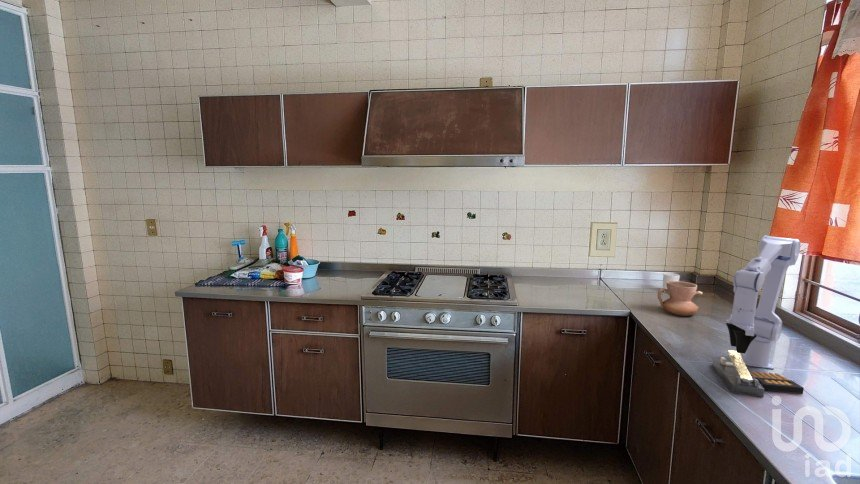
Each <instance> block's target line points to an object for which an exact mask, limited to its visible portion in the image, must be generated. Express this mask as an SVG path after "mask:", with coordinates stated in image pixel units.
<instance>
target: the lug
mask: <svg viewBox="0 0 860 484" xmlns="http://www.w3.org/2000/svg"><path fill="white" fill-rule="evenodd" d="M719 359H720V363H721V364H722V365H726V366H733V367H734V365H733V363H731V362H726V360H727V358H726V357H724V356H720V358H719Z"/></svg>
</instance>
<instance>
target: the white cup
mask: <svg viewBox="0 0 860 484" xmlns="http://www.w3.org/2000/svg"><path fill="white" fill-rule="evenodd" d="M662 275H663V276H662V288H665V289H667V281H680V278H681V275H680V274H678V273H676V272H663V274H662Z"/></svg>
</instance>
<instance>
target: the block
mask: <svg viewBox="0 0 860 484" xmlns="http://www.w3.org/2000/svg"><path fill="white" fill-rule="evenodd" d="M720 359H721V358H716V357H713V358H712V361H711V362H712V364H711V366H712V367H713V368H714V370H715V371H716V372H717V374H718V376H719V377H720V378H721V380H722V381H723V383H725V385H726V386H727V388H728V389H729V391H730V392H731V393H735V394H741V395H747V396H752V397H753V396H754V397H760V398H764V395H765V391H766V390H765V389H764V388H763V387H762V386H761V384H760V383H759V381H758V380H757V379H755V378H754V376H753V375H752V374H751V371H749V373H750V375H751V377H752V379H753V384H750V383H744V382H741V378H740V377H739V376H738V374H737V372H736V369H735V367H733V366H726V365H722V364H721V363H720ZM726 362H731V363H732V361H731V359H726Z"/></svg>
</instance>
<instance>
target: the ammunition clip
mask: <svg viewBox="0 0 860 484" xmlns="http://www.w3.org/2000/svg"><path fill="white" fill-rule="evenodd" d="M750 373H751V374H752V375H753V376H754V378H755V379H757V380H758V381H759V383H760V384H761V386H762V387H763V388H764V389H765V390H764V391H770V392H771V391H772V392H780V393H781V392H782V393H790V394H802V395H803V394H804V390H805V388H804V387H803V386H802V385H800V384H798V383H796V381H794V380H791V379H789V378H787V377H785V376H783V375H781V374H780V373H778V372H775V373H772V372H765V371H762V372H761V371H754V370H750Z"/></svg>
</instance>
